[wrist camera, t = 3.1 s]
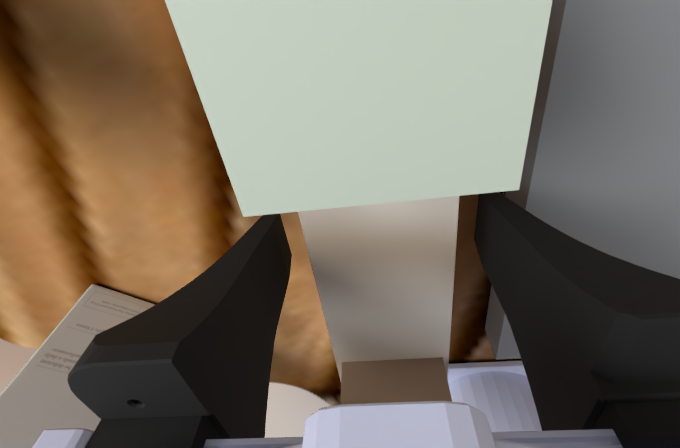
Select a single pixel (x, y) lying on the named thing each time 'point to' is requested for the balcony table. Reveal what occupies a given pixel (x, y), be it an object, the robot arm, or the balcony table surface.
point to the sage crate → (365, 96)
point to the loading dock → (605, 137)
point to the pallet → (385, 277)
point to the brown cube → (394, 381)
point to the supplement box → (60, 370)
